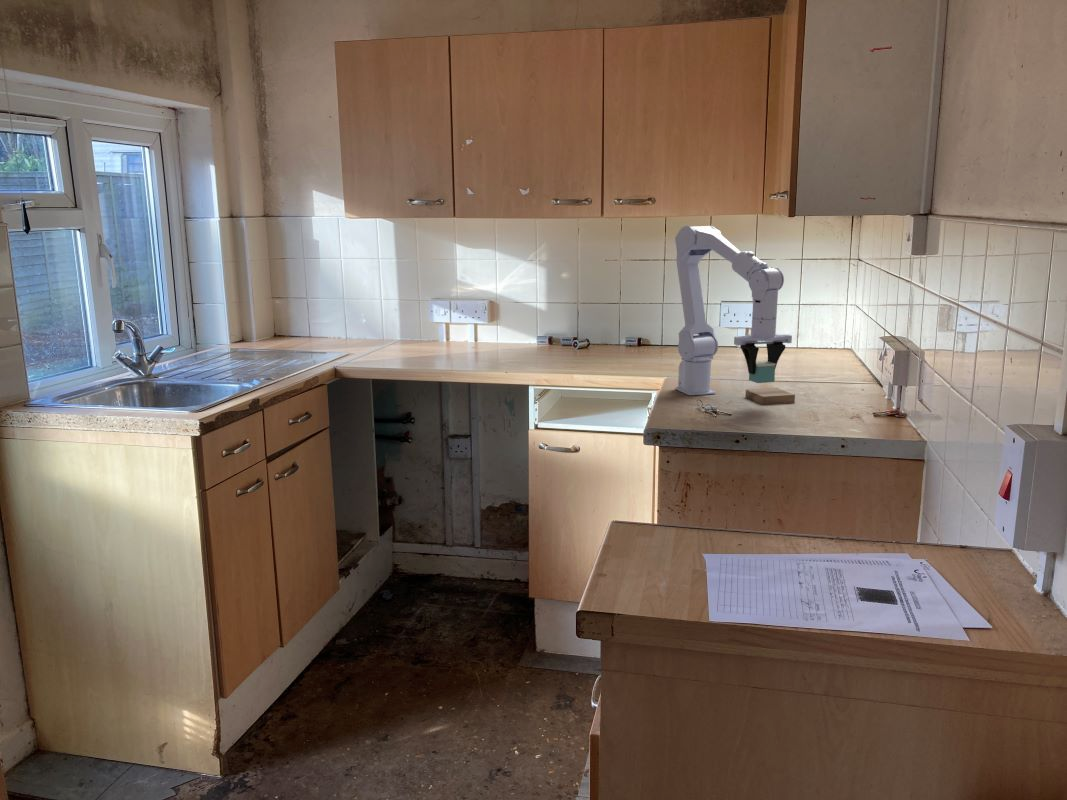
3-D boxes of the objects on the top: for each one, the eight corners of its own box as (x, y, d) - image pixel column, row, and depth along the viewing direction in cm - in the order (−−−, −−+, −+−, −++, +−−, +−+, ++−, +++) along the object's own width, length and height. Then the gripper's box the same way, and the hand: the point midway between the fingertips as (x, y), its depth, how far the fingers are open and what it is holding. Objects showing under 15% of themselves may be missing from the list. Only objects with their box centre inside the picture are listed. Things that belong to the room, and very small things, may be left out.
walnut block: (745, 398, 217) (745, 389, 217) (776, 396, 219) (776, 387, 219) (762, 405, 209) (762, 396, 208) (794, 403, 211) (795, 394, 210)
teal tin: (748, 380, 207) (748, 361, 206) (765, 378, 208) (766, 360, 207) (757, 383, 202) (758, 364, 201) (775, 381, 203) (775, 363, 202)
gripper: (744, 321, 196) (742, 377, 199) (799, 319, 200) (796, 374, 203) (731, 317, 203) (728, 372, 206) (784, 315, 206) (781, 369, 209)
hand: (761, 373), depth 205 cm, fingers closed on teal tin, 5 cm apart
